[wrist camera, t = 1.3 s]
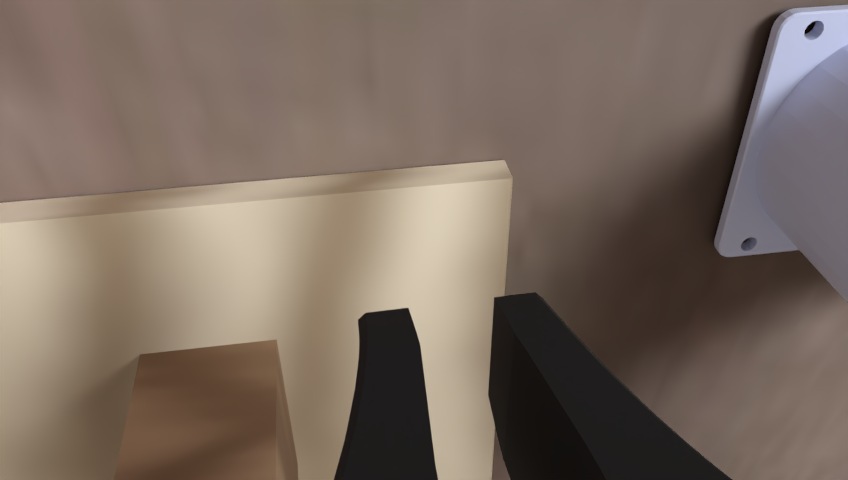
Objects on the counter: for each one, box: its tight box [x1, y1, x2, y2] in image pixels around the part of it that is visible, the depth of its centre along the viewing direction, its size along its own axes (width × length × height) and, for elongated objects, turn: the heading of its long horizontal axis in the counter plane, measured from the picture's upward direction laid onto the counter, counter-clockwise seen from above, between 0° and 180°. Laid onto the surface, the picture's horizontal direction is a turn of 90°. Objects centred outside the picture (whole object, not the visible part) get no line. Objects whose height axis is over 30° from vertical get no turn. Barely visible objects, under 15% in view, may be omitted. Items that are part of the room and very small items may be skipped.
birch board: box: [0, 160, 513, 480], centre depth 25 cm, size 24×16×1 cm, turn 91°
